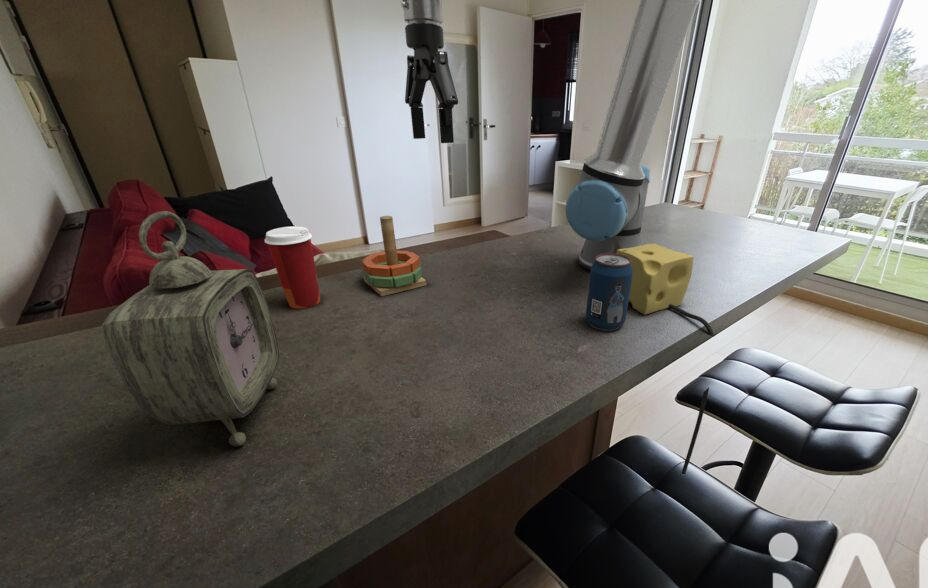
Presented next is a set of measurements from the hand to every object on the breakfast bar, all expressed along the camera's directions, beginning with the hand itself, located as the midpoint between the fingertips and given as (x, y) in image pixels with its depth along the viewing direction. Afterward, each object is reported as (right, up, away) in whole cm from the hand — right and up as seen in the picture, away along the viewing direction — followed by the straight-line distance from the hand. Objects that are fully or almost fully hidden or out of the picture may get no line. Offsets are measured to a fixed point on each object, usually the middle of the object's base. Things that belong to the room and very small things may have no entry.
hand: (432, 140), depth 93 cm
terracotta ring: (-8, -29, -5) cm, 30 cm away
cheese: (+44, -37, -10) cm, 59 cm away
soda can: (+34, -41, -19) cm, 57 cm away
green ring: (-7, -31, -5) cm, 32 cm away
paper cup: (-22, -37, -13) cm, 45 cm away
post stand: (-7, -32, -4) cm, 34 cm away
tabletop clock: (-17, -53, -42) cm, 69 cm away
